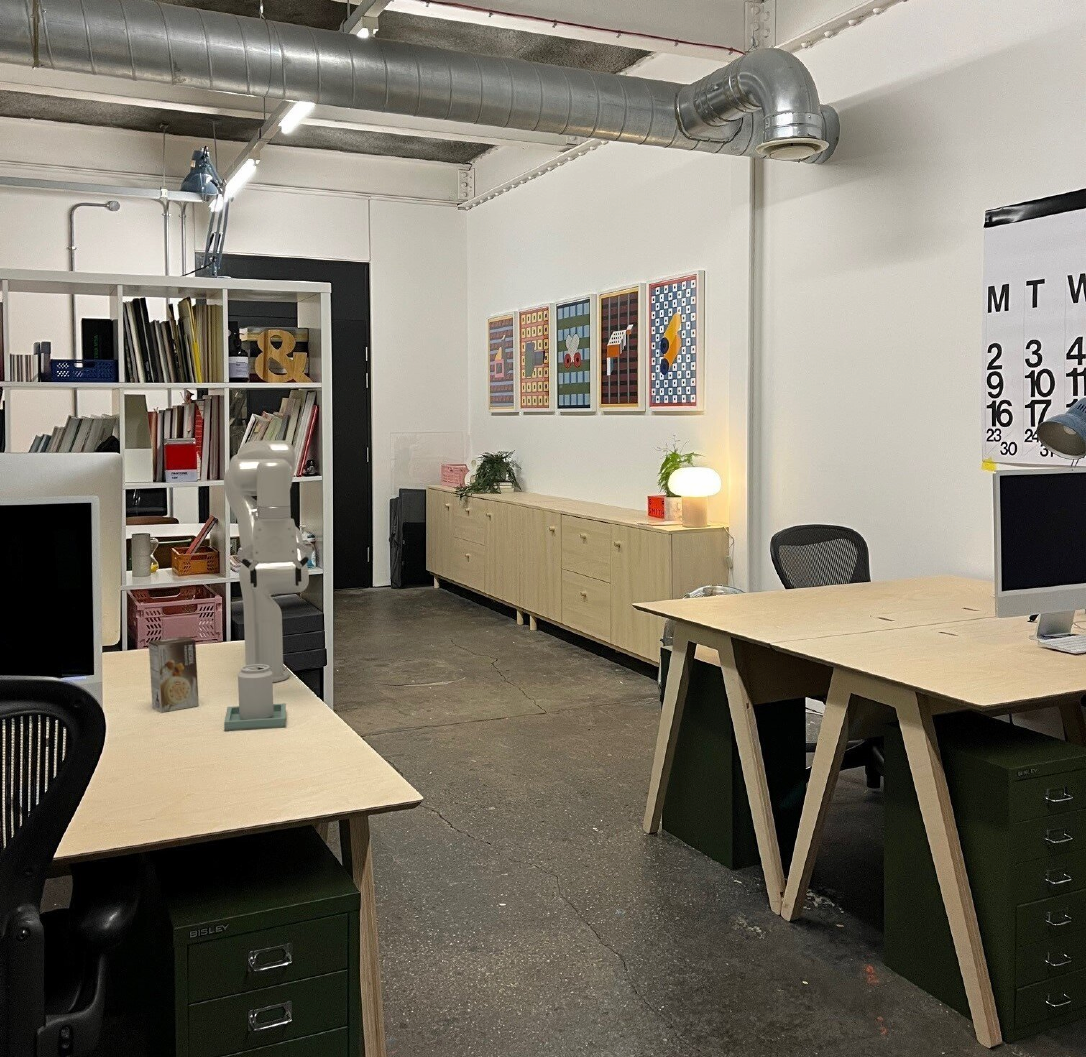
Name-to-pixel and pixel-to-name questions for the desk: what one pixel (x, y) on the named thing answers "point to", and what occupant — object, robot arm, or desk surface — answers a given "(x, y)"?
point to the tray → (237, 723)
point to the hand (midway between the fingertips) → (276, 585)
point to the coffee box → (173, 674)
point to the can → (255, 692)
